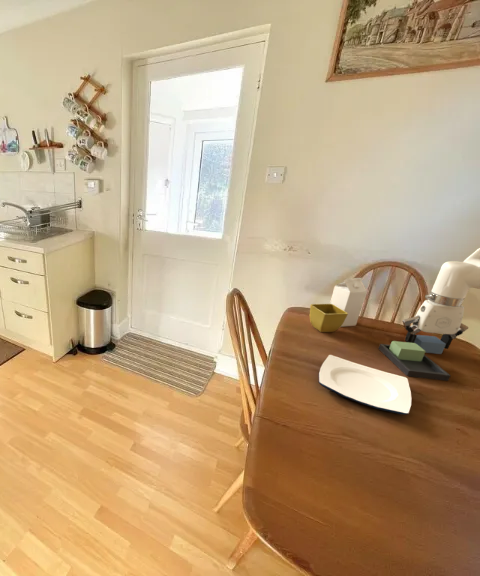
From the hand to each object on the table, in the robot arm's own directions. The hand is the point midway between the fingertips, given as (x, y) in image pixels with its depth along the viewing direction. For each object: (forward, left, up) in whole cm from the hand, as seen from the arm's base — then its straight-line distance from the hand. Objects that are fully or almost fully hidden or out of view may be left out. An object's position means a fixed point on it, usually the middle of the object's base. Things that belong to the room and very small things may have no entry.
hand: (425, 344), depth 107 cm
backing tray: (+10, +11, -2) cm, 15 cm away
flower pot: (+28, -8, -2) cm, 29 cm away
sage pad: (+10, +8, -1) cm, 12 cm away
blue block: (0, 0, -2) cm, 2 cm away
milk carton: (+19, -16, -2) cm, 25 cm away
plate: (+31, +28, -2) cm, 42 cm away
